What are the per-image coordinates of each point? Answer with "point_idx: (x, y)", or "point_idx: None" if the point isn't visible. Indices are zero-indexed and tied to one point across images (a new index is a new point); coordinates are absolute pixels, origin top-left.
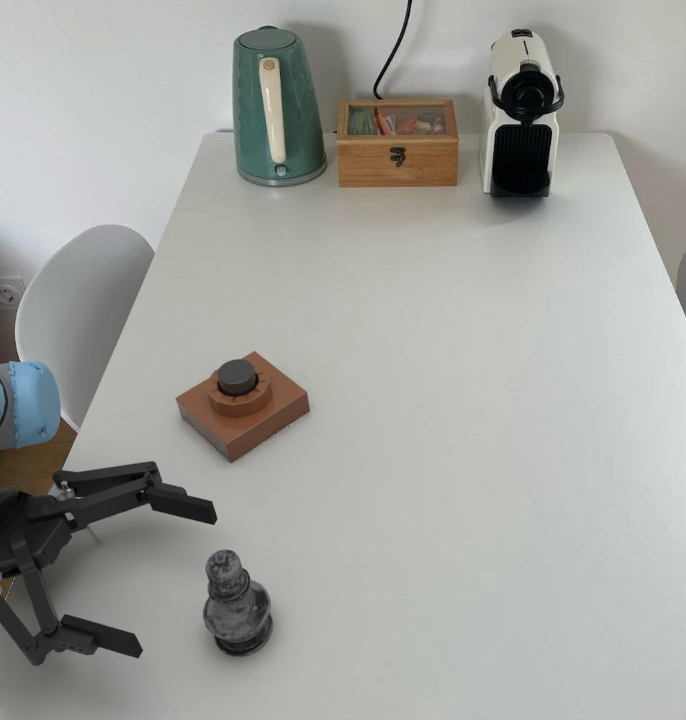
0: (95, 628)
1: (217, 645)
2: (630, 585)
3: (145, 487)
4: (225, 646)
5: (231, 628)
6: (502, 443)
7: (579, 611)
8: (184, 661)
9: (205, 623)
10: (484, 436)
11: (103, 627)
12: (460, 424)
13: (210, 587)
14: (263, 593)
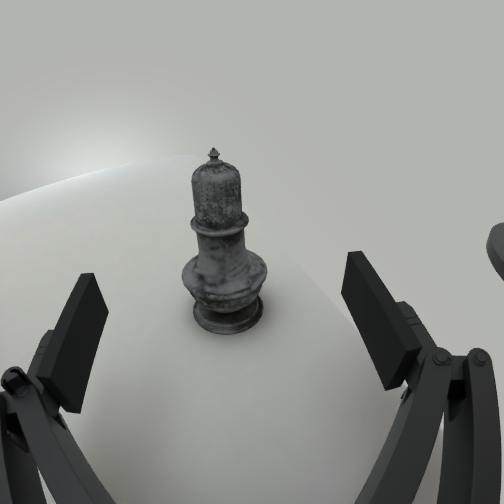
0: (383, 292)
1: (258, 320)
2: (141, 180)
3: (36, 390)
4: (257, 307)
5: (253, 258)
6: (34, 230)
7: (159, 185)
8: (293, 340)
9: (258, 285)
10: (26, 238)
11: (373, 286)
12: (11, 250)
13: (233, 225)
14: (197, 257)
